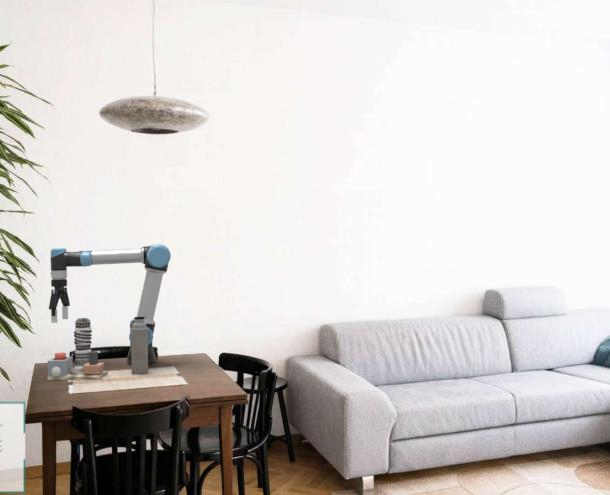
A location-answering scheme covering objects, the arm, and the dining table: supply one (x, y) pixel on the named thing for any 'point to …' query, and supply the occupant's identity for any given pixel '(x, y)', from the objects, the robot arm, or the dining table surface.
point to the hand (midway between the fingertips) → (59, 320)
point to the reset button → (60, 356)
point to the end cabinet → (59, 367)
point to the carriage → (93, 364)
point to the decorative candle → (82, 341)
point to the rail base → (80, 375)
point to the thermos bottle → (139, 346)
